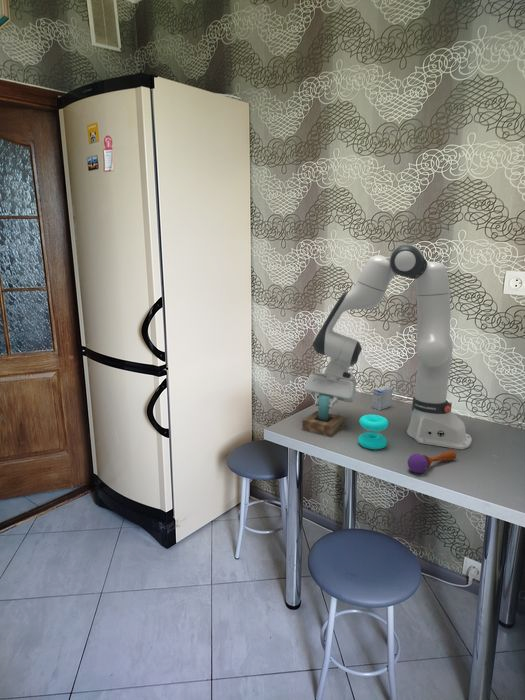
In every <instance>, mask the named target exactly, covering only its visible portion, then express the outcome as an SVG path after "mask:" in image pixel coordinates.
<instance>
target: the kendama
mask: <svg viewBox="0 0 525 700" xmlns="http://www.w3.org/2000/svg"><path fill="white" fill-rule="evenodd" d="M454 460H457V453H456V451H455V450H452V449H449V450H446V451H445V452H443V453H440V454H438V455H435V456H433V457H430V456H427V455H425V454H420V453H413V454H411V455H409V457H408V459H407V467H408V468H409V471H411V472H413V473H414V474H422V473H424V472H425V471H427V469H428V468H430V466H431V465H432V463H433V462H443V461H446V462H447V461H454Z"/></svg>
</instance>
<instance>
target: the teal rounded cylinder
mask: <svg viewBox="0 0 525 700" xmlns="http://www.w3.org/2000/svg"><path fill="white" fill-rule="evenodd" d="M330 399H331V398H330V397H329V396H328V395H320V396H319V398H318V400H319V406H318V409H317V411H318V419H319V420H321V421H327V420H328V418H329V414H330V413H329V412H330V409H329V408H328V407H327V406H328V403H330Z"/></svg>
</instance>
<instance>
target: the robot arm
mask: <svg viewBox="0 0 525 700" xmlns="http://www.w3.org/2000/svg"><path fill="white" fill-rule="evenodd" d="M397 276H400V277H404V278H408V279H413V280H414V281H415V287H416V289H415V290H416V291H415V292H416V307H417V308H416V309H417V310H416V311H417V313H416V314H417V319H416V322H417V323H416V346H415V347H416V349H415V350H416V357H417V359H418V364H417V371H416V376H415V386H414V387H415V388H414V396H413V397H412V401H411V411H412V412H411V418H410V421H409V424H408V428H407V430H406V434H407V435H408V436H409V437H411V438H413V439H414V440H415V441H416V442H417V443H418V444H419V443H420V444H423V445H424V444H425V445H431V446H437V447H445V448H449V449H455V450H466V449H467V448H469V447H470V446H471V444H472V443H473V442H472V439H473V438H472V437H471V435H470V434H469V433H467V431H466V425H465V422H464V421H463V420H461V419H460V418H459V416H457V415H456V414H455V413H454V412H453V411H452V403H453V402H452V401H450V402H449V401H448V400H447V394H448V386H449V385H448V384H449V378H450V377H449V376H450V369H451V362H452V356H453V347H454V343H453V339H452V337H451V333H450V332H451V290H450V279H449V274H448V270H447V268H446V265H445V264H444V263H442V262H439V261H429V260H426V259H425V257H424V254H423V253H422V251H421V249H420V247H417V246H415V245H413V244H403V245H400V246H398V247H397V248H395V249H394V250H393V251H392V253H391V255H390V256H383V255H373V256H370V258H369V259H368V260H367V261H366V263H365V264H364V266H363V267H362V270H361V272H360V273H359V276H358V278H357V281H356V283H355V285H353V287H352V288H351V289H350V290H348V291H345V292H343V293H342V294H341V295H340V296H339V299H338V300H337V302H336V303H335V305H333V307H332V309H331V311H330V313H329V315H328V316H327V318H326V320H325V321H324V323H323V325H322V326H321V328H320V329H319V330H318V331H317V332H316V334H315V335H314V337H313V340H312V347H313V349H314V351H315V352H316V354H318V355H323V356H327V357H330V359H329V362H328V363H327V365H326V368H325V369H324V373H321V372H320V373H318V372H312V373H310V374H309V376H308V379H307V380H306V382H305V384H304V386H303V390H304V391H305V394H309V395H314V398H315V402H314V405H315V406H316V407H319V396H320V395H328V396H329V397H330V399H332V401H331V402H329V403H328V406H327V407H328V408H329V410H332V409H333V408H334V406H335V405H336V404H338V403H339V401H342V402H347V403H353V402H354V400H355V397H356V393H357V388H356V387H357V386H358V382H357V380H356V378H355V375H354V374H352V373H351V372H349V370H350V367H351V366H354V365H355V364H357V362H358V359H359V356H360V354H361V352H362V346H361V343H360V342H359V341H358V340H356V339H355V338H352V337H349V336H347V335H343V334H341V333H338V332H335V331H334V327H335V326H336V324H337V323H338V321H339V319H340V317H341V315H343V313H344V312H346V311H347V312H348V311H349V310H350V311H351V310H369V309H373V308H375V307H377V306H378V305H379V304H380V303H381V302H382V300H383V298H384V297H385V295H386V292H387V289H388V288H389V285H390V283H391V281H392V279H393V278H394V277H397Z"/></svg>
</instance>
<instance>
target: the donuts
mask: <svg viewBox="0 0 525 700" xmlns="http://www.w3.org/2000/svg"><path fill="white" fill-rule="evenodd" d="M358 421H359V425H360V426H361V427H362V429H365V430H367V432H366V431H365V432H364V433H361V434H360V435H359V437H358V440H357V441H358V444H359V445H360V446H362V448H365V449H368V450H382V449H383V448H385V447H387V445H388V441H387V438H386V437H385V436H384V435H383V434H381V433H378V432H381V431H385V430H386V429H387V428H388V427H389V420H388V419H387V418H386V417H384V416H382V415H379V414H373V413H372V414H364V415H363V416H361V417H360V418H359V420H358Z"/></svg>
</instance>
